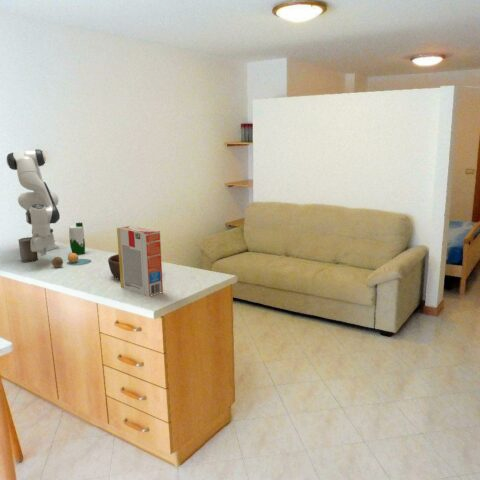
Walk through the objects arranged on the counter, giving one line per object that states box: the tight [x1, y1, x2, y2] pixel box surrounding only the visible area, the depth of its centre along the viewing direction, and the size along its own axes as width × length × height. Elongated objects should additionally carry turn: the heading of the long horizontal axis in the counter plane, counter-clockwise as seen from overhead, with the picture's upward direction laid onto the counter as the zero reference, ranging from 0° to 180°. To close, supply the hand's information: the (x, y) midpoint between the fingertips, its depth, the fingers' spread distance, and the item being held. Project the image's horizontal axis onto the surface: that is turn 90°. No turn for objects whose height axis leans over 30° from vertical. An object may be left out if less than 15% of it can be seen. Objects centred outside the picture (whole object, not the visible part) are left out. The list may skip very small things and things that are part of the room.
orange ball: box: [67, 252, 79, 263], centre depth 274 cm, size 6×6×6 cm
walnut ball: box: [51, 256, 64, 268], centre depth 265 cm, size 6×6×6 cm
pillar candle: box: [18, 236, 39, 263], centre depth 281 cm, size 10×10×15 cm
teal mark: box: [66, 258, 92, 266], centre depth 276 cm, size 14×14×1 cm
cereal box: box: [116, 225, 164, 297], centre depth 220 cm, size 23×8×30 cm, turn 48°
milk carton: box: [68, 222, 86, 256], centre depth 296 cm, size 9×9×20 cm
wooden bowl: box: [107, 253, 120, 280], centre depth 247 cm, size 25×25×10 cm
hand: (43, 255), depth 268 cm, fingers closed
